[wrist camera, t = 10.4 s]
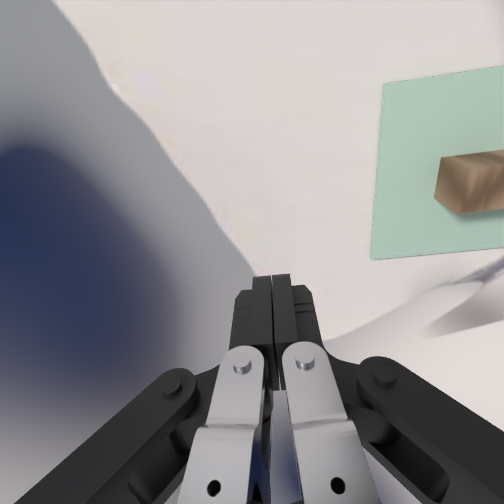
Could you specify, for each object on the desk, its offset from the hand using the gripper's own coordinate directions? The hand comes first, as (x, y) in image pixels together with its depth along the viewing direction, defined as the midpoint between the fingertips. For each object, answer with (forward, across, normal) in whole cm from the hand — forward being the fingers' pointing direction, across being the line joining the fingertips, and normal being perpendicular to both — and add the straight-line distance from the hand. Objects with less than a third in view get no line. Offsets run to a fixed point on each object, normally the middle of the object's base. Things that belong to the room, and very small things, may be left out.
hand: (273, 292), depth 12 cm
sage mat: (+27, -22, +6) cm, 36 cm away
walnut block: (+24, -20, +6) cm, 32 cm away
